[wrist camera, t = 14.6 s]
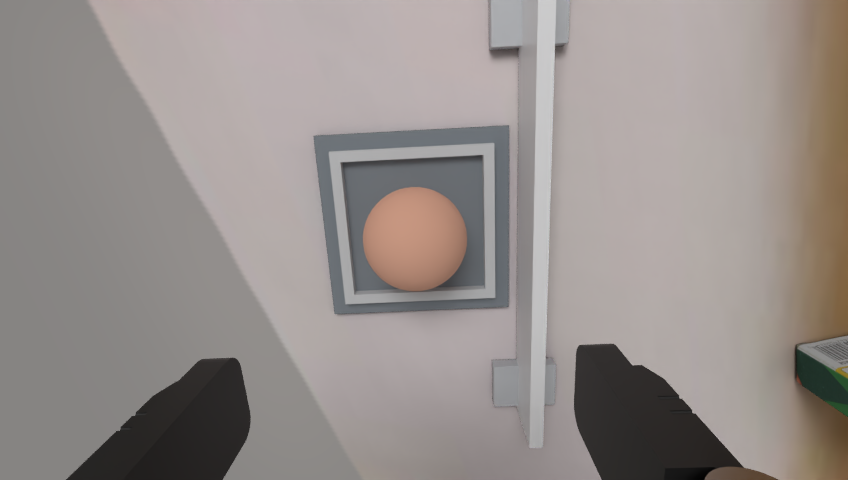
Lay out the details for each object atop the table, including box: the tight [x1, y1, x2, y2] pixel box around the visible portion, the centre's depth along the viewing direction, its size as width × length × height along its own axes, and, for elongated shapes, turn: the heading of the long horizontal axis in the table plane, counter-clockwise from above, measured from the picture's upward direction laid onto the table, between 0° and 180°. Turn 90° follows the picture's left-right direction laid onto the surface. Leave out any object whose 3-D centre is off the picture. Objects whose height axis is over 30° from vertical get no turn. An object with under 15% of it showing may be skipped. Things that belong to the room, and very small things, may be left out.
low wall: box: [489, 0, 570, 448], centre depth 23 cm, size 4×26×4 cm, turn 3°
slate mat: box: [314, 125, 509, 314], centre depth 24 cm, size 11×11×1 cm
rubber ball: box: [363, 187, 467, 291], centre depth 22 cm, size 6×6×6 cm
